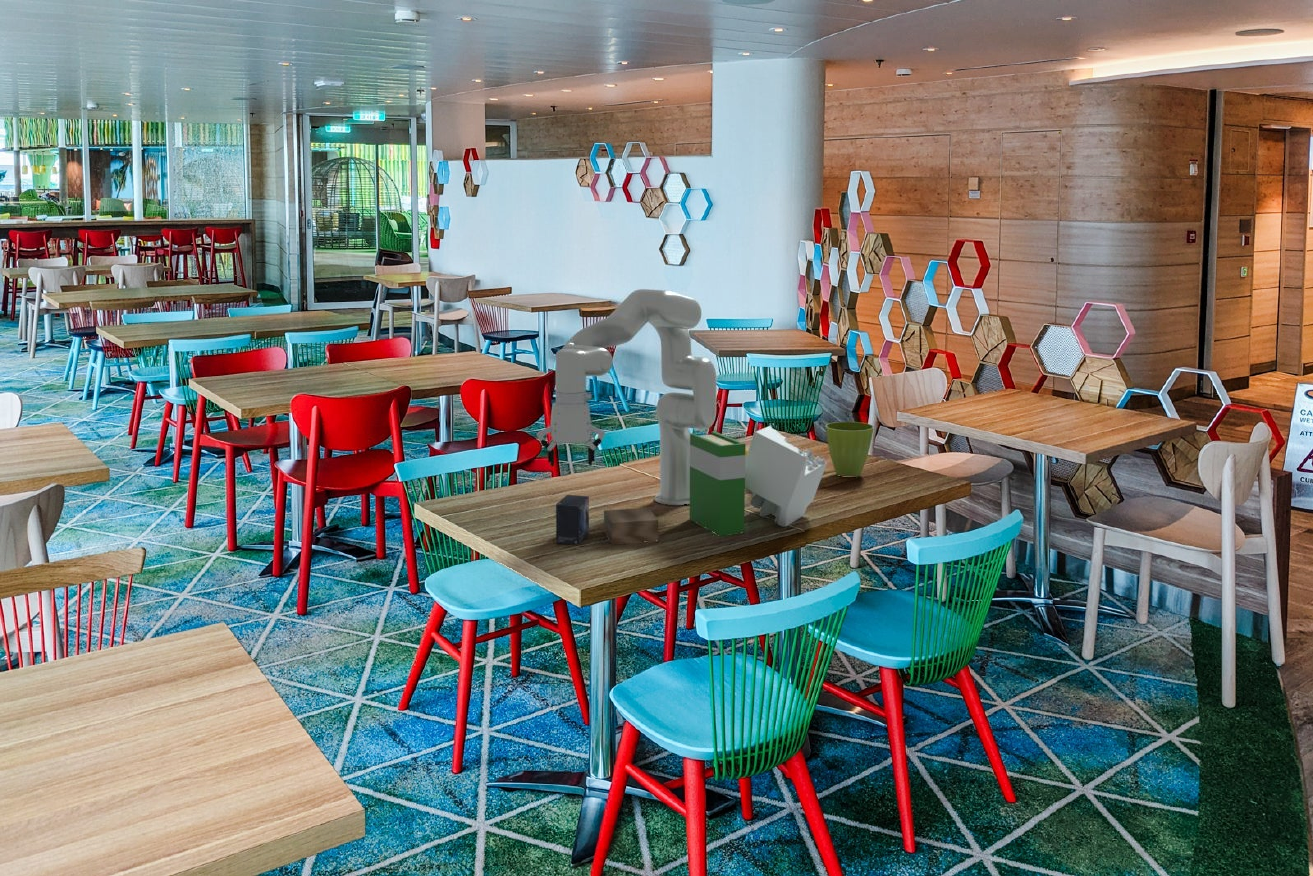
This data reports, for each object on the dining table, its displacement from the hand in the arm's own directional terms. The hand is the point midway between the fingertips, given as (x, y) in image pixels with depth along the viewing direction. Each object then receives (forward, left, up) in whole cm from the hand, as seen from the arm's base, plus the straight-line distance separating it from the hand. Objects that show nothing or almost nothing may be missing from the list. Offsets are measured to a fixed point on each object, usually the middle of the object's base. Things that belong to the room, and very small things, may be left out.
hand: (571, 464), depth 295 cm
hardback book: (-39, -6, -20) cm, 44 cm away
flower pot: (-92, -56, -20) cm, 110 cm away
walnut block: (-15, 0, -20) cm, 25 cm away
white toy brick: (-58, -9, -20) cm, 62 cm away
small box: (0, 0, -20) cm, 20 cm away
